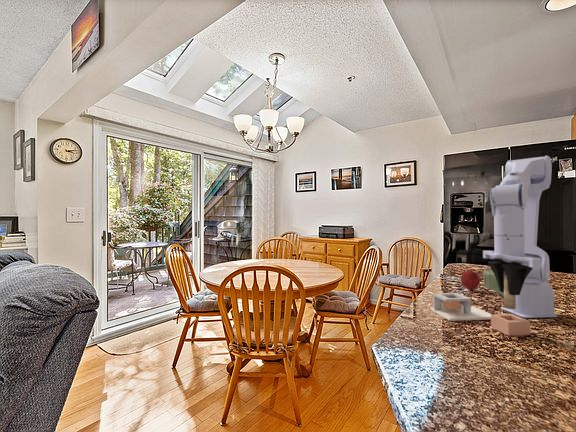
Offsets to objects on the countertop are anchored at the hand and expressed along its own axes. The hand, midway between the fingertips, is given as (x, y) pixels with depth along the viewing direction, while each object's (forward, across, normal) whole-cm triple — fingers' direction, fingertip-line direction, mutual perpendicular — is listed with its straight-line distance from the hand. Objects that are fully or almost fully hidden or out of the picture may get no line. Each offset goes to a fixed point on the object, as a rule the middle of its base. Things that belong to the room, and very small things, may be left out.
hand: (509, 293), depth 69 cm
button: (+7, -12, -7) cm, 15 cm away
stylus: (+3, 0, 0) cm, 3 cm away
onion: (+9, -36, +16) cm, 40 cm away
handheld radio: (+10, -29, +23) cm, 38 cm away
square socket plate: (+9, -12, -3) cm, 15 cm away
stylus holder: (+9, 0, 0) cm, 9 cm away
